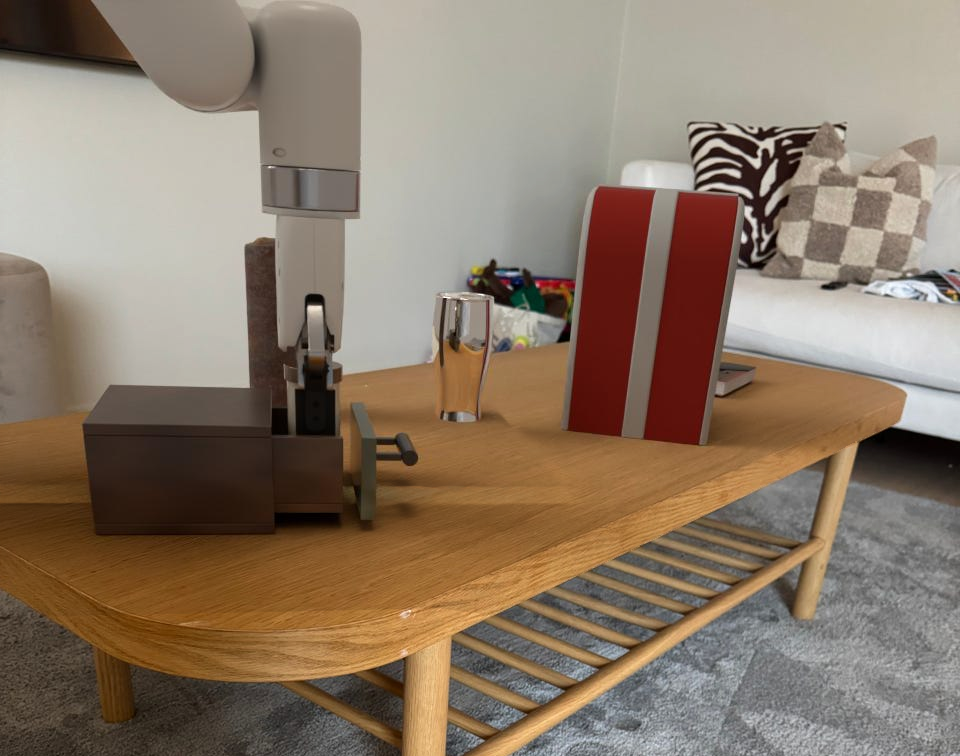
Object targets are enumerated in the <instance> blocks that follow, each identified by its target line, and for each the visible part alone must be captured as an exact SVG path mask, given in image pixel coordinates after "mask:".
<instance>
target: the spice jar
mask: <svg viewBox="0 0 960 756" xmlns="http://www.w3.org/2000/svg"><path fill="white" fill-rule="evenodd" d="M305 360H308V359H304V362H305ZM332 365H333V389H335V423H336V435H335V436H341V382H343V379H344V378H343V376H344V375H343V374H344V373H343V372H344V371H343V369H344V368H343V364H342V363H340V362H338V361H333V360H332ZM304 376H305V372H304ZM284 378H285V380H287V413H288V435H296V421H295V388H298V366H297V360H290V361H287V362H285V363H284Z"/></svg>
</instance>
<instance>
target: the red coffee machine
mask: <svg viewBox="0 0 960 756" xmlns="http://www.w3.org/2000/svg"><path fill="white" fill-rule="evenodd" d="M583 212H584V213H583V219H582V225H581V232H580V240H579V247H578V248H579V249H578V258H577V265H576V266H577V268H576V277H575V287H574V295H573V296H574V298H573V308H572V316H571V324H570V325H571V326H570V337H569V344H568V345H569V346H568V354H567V355H568V357H567V366H566V375H565V376H566V377H565V385H564V395H563V405H562V413H561V414H562V415H561V424H560V429H561V430H563V431H570V432H580V433H587V434H588V433H589V434H597V435H606V436H615V437H622V438H629V439H636V440H637V439H638V440H650V441H659V442H668V443H677V444H686V445H693V446H694V445H695V446H698V445H699V446H706V445H707V444H708V438H709V432H710V426H711V421H712V413H713V408H714V403H715V398H716V395H715V392H716V386H717V380H718V374H719V368H720V362H722V356H723V350H724V345H725V338H726V333H727V328H728V327H727V326H728V322H729V315H730V311H731V309H730V308H731V303H732V298H733V292H734V286H735V280H736V274H737V267H738V263H739V262H738V261H739V256H740V249H741V243H742V238H743V231H744V230H743V229H744V223H745V215H746V213H745V212H746V207H745V201H744V199H743V198H742V197H741V196H739V193H733V192H721V191H720V192H719V191H708V190H707V191H706V190H695V189H694V190H693V189H682V188H681V189H680V188H666V187H664V188H663V187H651V186H637V185H624V184H608V183H598V185H597V186H594V188H593V189H592V190H591V191H590V193H589V194H588V196H587V199H586V202H585V208H584V211H583Z"/></svg>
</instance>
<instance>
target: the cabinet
mask: <svg viewBox="0 0 960 756" xmlns="http://www.w3.org/2000/svg"><path fill="white" fill-rule="evenodd" d="M81 426H82V427H81V428H82V434H83V437H82V438H83V444H84V445H83V446H84V452H85V461H86V468H87V477H88V487H89V495H90V503H91V510H92V511H91V512H92V519H93V526H94V527H93V528H94V535H100V536H102V535H108V536H111V535H245V534H246V535H247V534H248V535H249V534H250V535H253V534H254V535H255V534H257V535H258V534H259V535H260V534H261V535H264V534H265V535H266V534H267V535H269V534H270V535H271V534H272V535H273V534H275V533H276V515H275V514H276V513H274V487H273V456H272V389H271V388H250V387H227V386H226V387H225V386H187V385H186V386H185V385H142V384H141V385H139V384H138V385H137V384H133V385H132V384H109V385H108V386H107V388H106V389H105V390H104V392H103V393H102V395H101V396H100V398H99V399H98V401H97V402H96V403H95V405H94V406H93V407H92V409H91V410H90V412H89V414H87V416H86V417H85V418H84V420H83V421H82V423H81Z"/></svg>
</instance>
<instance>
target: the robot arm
mask: <svg viewBox="0 0 960 756" xmlns="http://www.w3.org/2000/svg"><path fill="white" fill-rule="evenodd" d="M90 1H91V2H92V4H93V5H94V7H96V9H97V11H98V12H99V13H100V14H101V15H102V17H103V18H104V20H105V21H106V22H107V24H108V25H109V26H110V27H111V29H112V30H113V32H114V33H115V34H116V36H117V37H118V39H119V40H120V41H121V43H122V44H123V45H124V46H125V48H126V49H127V51H128V52H129V53H130V54H131V56H132V58H133V59H134V60H135V61H136V63H137V65H138V66H139V67H140V68H141V69H142V71H144V73H145V74H146V76H147V77H148V78H149V80H150V81H151V82H152V83H153V85H154V86H155V87H156V88H157V89H158V90H159V91H161V92H162V93H163V94H164V95H165V96H166V97H168V98H170V99H171V100H173V101H174V102H176V103H177V104H179V105H180V106H182V107H184V108H186V109H188V110H190V111H193V112H197V113H201V114H209V115H210V114H211V115H212V114H226V113H239V112H240V113H241V112H258V136H259V138H258V139H259V142H258V143H259V163H260V167H259V169H260V194H261V195H260V197H261V213H262V214H267V215H273V216H276V218H275V233H274V234H275V235H274V238H275V269H276V297H277V329H278V346H279V348H280V349H281V350H282V351H284V352H287V346H295V345H296V360H297V366H298V388H295V421H296V435H320V436H335V435H336V423H335V389H333V365H332V361H333V355H334V354H336V353H337V352H339V351H340V350H341V348H342V337H343V325H344V323H343V322H344V308H345V307H344V305H345V273H346V271H345V270H346V268H345V267H346V266H345V265H346V220H358V219H361V175H362V174H361V169H362V167H361V165H362V164H361V154H362V153H361V151H362V146H361V145H362V140H361V139H362V50H363V49H362V30H361V27H360V23H359V21H358V19H357V18H356V16H355V15H354V14H353V13H352V12H351V11H349V10H348V9H346V8H344V7H341V6H338V5H336V4H335V5H334V4H329V3H325V2H319V1H312V0H274V1H271V2H267V3H266V4H264V5H263V7H261V8H257V7H251V6H245V5H241V4H238V1H237V0H90ZM304 359H308V360H305V362H304ZM304 372H305V376H304Z"/></svg>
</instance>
